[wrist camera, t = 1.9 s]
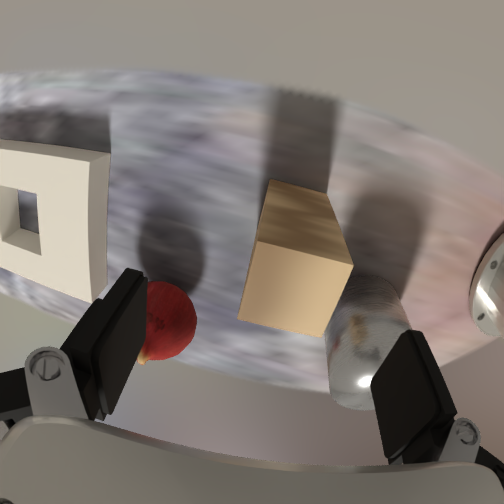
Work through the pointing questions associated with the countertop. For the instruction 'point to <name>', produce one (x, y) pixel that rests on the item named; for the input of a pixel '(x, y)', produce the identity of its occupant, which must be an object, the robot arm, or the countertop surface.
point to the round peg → (361, 338)
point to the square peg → (295, 262)
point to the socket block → (56, 216)
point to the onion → (167, 322)
